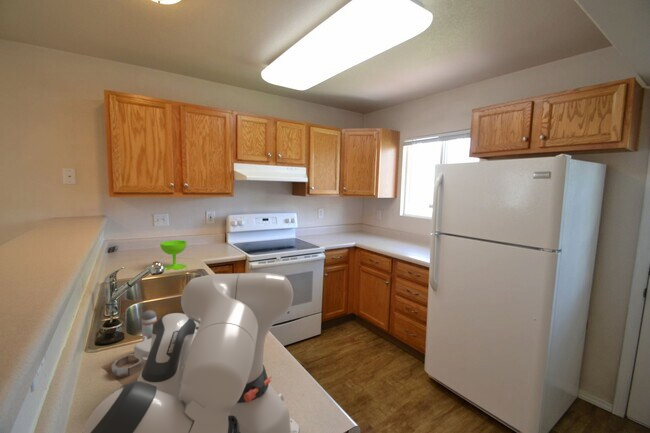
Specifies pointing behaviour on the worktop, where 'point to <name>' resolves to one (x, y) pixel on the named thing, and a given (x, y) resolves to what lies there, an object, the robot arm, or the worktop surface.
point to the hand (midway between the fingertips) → (160, 331)
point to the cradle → (126, 370)
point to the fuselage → (148, 322)
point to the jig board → (127, 378)
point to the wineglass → (174, 252)
